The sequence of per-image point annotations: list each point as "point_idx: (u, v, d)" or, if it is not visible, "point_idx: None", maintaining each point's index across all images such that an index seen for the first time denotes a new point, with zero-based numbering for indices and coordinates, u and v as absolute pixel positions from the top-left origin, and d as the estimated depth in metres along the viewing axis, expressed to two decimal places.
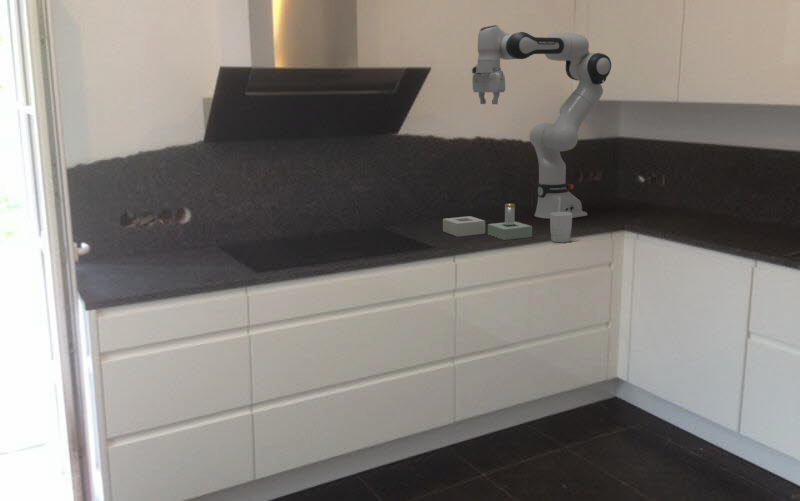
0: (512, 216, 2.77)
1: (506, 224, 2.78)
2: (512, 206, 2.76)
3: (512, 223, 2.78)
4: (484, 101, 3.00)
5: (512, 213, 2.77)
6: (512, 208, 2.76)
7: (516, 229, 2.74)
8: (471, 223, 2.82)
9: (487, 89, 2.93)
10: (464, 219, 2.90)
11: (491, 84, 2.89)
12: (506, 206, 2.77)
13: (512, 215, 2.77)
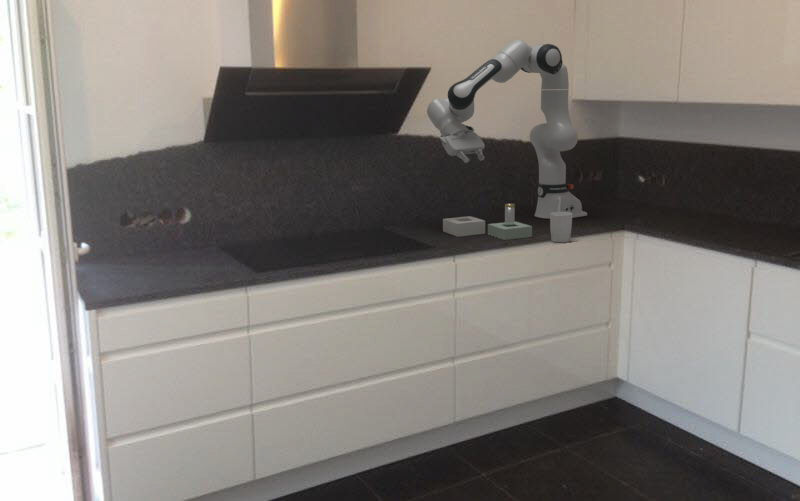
0: (512, 216, 2.77)
1: (506, 224, 2.78)
2: (512, 206, 2.76)
3: (512, 223, 2.78)
4: (480, 157, 2.88)
5: (512, 213, 2.77)
6: (512, 208, 2.76)
7: (516, 229, 2.74)
8: (471, 223, 2.82)
9: None
10: (464, 219, 2.90)
11: None
12: (506, 206, 2.77)
13: (512, 215, 2.77)
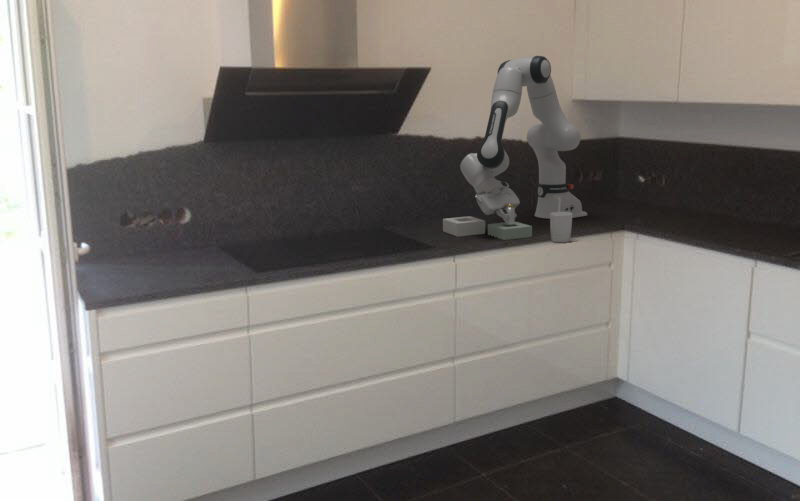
0: (512, 216, 2.77)
1: (506, 224, 2.78)
2: (512, 206, 2.76)
3: (512, 223, 2.78)
4: None
5: (512, 213, 2.77)
6: (512, 208, 2.76)
7: (516, 229, 2.74)
8: (471, 223, 2.82)
9: None
10: (464, 219, 2.90)
11: None
12: (506, 206, 2.77)
13: (512, 215, 2.77)
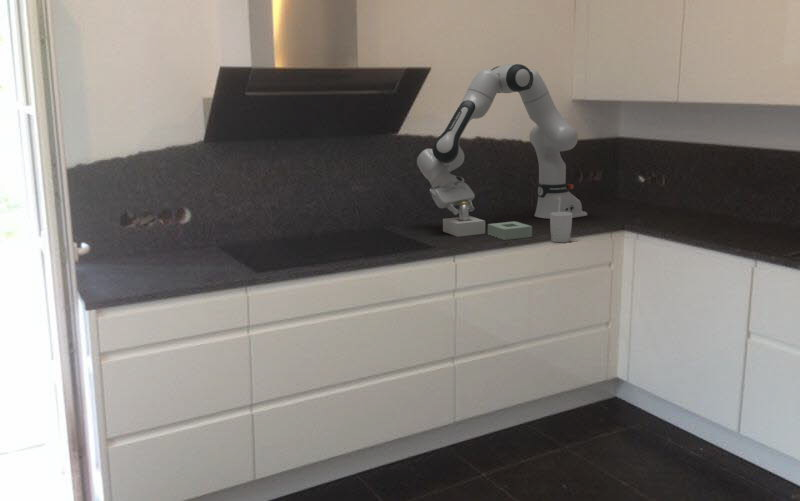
0: (466, 213, 2.85)
1: (460, 221, 2.86)
2: (466, 204, 2.84)
3: (466, 220, 2.86)
4: (470, 208, 2.89)
5: (466, 210, 2.85)
6: (466, 206, 2.84)
7: (516, 229, 2.74)
8: (471, 223, 2.82)
9: None
10: None
11: None
12: (460, 204, 2.85)
13: (466, 212, 2.85)
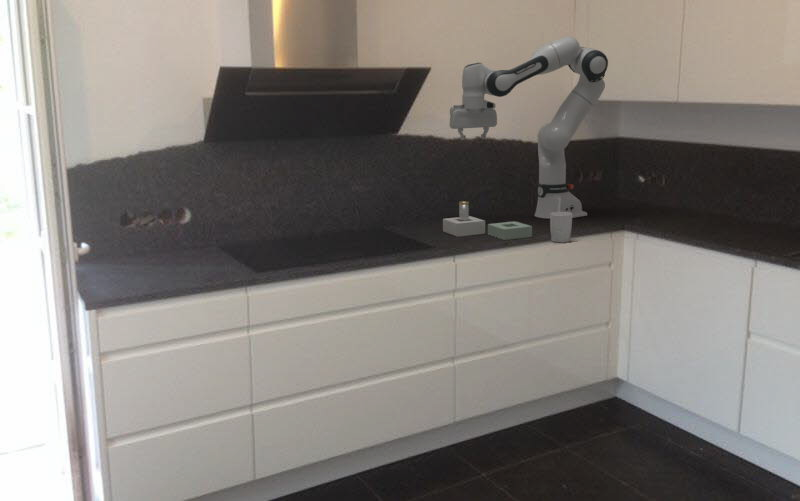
0: (466, 213, 2.85)
1: (460, 221, 2.86)
2: (466, 204, 2.84)
3: (466, 220, 2.86)
4: (482, 136, 3.03)
5: (466, 210, 2.85)
6: (466, 206, 2.84)
7: (516, 229, 2.74)
8: (471, 223, 2.82)
9: None
10: None
11: None
12: (460, 204, 2.85)
13: (466, 212, 2.85)
